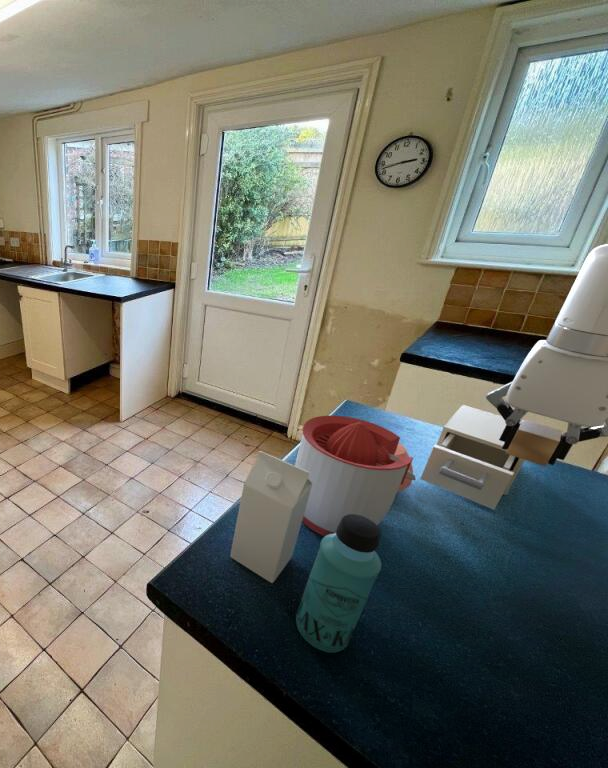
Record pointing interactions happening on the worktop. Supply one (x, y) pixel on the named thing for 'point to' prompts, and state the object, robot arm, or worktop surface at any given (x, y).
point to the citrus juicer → (349, 470)
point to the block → (534, 442)
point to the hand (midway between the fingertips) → (528, 452)
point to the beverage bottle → (339, 584)
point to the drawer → (469, 469)
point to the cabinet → (480, 432)
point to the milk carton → (270, 515)
